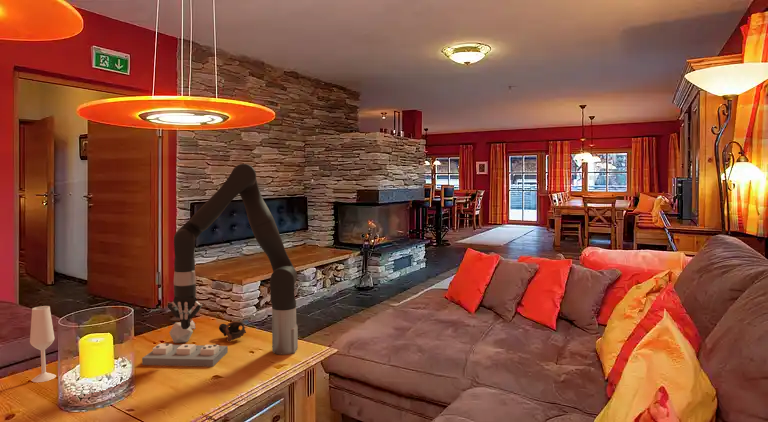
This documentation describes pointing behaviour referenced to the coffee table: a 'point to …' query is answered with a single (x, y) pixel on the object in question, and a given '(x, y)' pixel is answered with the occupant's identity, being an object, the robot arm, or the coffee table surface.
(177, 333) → the die
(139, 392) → the coffee table surface
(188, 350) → the one pip tile
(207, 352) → the three pip tile
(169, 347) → the two pip tile
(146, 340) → the coffee table surface
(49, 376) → the champagne flute
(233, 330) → the pottery mug
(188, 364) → the button board
